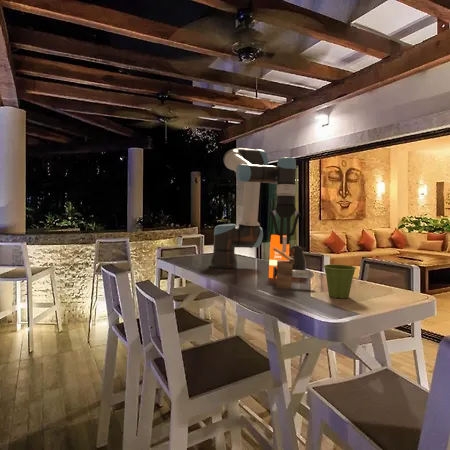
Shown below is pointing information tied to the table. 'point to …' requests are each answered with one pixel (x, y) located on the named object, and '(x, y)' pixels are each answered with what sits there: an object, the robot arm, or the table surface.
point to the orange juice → (274, 255)
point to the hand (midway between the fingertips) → (284, 252)
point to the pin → (296, 273)
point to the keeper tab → (282, 253)
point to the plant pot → (339, 279)
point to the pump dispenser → (298, 257)
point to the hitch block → (284, 273)
